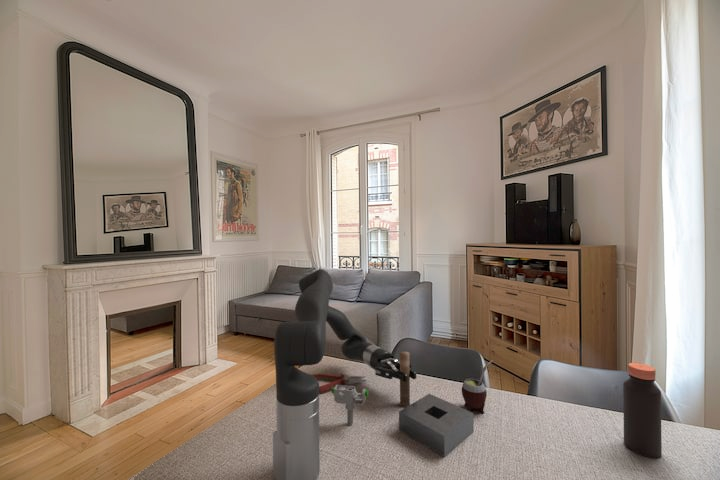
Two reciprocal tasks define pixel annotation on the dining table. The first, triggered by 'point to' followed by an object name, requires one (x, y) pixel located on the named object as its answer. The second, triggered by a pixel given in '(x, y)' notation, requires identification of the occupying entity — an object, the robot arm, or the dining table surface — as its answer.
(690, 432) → the dining table surface
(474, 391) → the mate gourd
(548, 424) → the dining table surface
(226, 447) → the dining table surface
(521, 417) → the dining table surface
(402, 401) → the pin
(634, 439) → the bottle
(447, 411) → the grey square hole block
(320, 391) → the pliers
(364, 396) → the mechanical component
